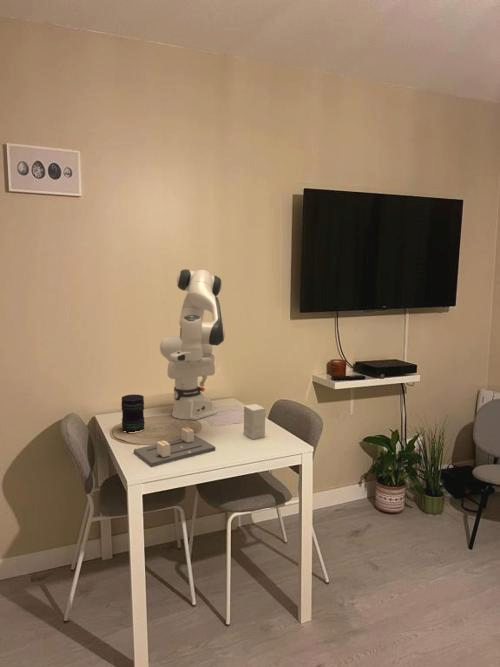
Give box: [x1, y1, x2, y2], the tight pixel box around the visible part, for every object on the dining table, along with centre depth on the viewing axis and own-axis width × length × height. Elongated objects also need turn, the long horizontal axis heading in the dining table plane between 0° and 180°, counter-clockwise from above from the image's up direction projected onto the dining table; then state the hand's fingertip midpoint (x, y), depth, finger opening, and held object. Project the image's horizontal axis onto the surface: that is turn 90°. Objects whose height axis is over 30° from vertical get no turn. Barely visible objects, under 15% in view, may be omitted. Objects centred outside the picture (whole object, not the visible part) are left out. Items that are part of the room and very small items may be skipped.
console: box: [133, 435, 216, 468], centre depth 199 cm, size 28×16×2 cm, turn 127°
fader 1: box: [156, 440, 170, 457], centre depth 191 cm, size 3×5×5 cm, turn 37°
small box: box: [243, 403, 266, 440], centre depth 217 cm, size 8×6×13 cm
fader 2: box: [180, 427, 195, 443], centre depth 206 cm, size 3×5×5 cm, turn 37°
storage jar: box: [121, 394, 145, 432], centre depth 223 cm, size 10×10×15 cm
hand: (191, 387), depth 209 cm, fingers open, 8 cm apart
